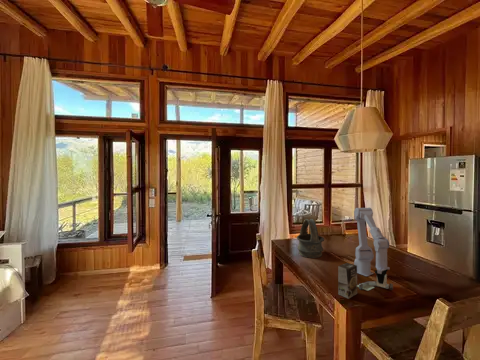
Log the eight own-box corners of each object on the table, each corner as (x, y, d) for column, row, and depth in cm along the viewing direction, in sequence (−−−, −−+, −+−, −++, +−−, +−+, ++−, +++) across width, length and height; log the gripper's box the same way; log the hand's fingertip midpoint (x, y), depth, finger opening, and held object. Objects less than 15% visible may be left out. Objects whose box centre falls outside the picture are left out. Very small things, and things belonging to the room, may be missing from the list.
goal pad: (356, 286, 143) (356, 285, 143) (363, 283, 147) (363, 282, 147) (367, 291, 137) (367, 290, 137) (374, 287, 141) (374, 287, 141)
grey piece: (355, 285, 144) (355, 280, 144) (388, 285, 143) (388, 280, 143) (359, 289, 139) (359, 284, 139) (393, 290, 138) (393, 284, 138)
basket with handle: (296, 258, 193) (296, 221, 192) (297, 249, 215) (296, 216, 215) (325, 260, 187) (325, 221, 187) (322, 250, 210) (322, 216, 209)
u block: (376, 285, 141) (376, 275, 141) (377, 282, 145) (377, 272, 145) (385, 287, 138) (385, 277, 138) (386, 284, 142) (386, 274, 142)
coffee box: (348, 299, 129) (348, 269, 129) (337, 294, 134) (337, 265, 134) (357, 293, 134) (357, 265, 134) (346, 289, 139) (346, 262, 139)
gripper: (387, 264, 133) (387, 288, 134) (391, 256, 144) (391, 279, 145) (373, 261, 138) (373, 284, 138) (377, 254, 149) (377, 276, 149)
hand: (381, 281), depth 142 cm, fingers closed on u block, 5 cm apart
